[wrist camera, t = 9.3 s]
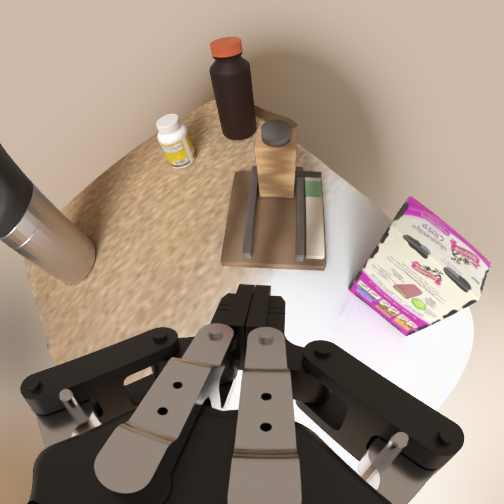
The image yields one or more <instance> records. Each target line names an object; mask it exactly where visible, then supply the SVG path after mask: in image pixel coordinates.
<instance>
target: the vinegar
mask: <svg viewBox="0 0 504 504" xmlns="http://www.w3.org/2000/svg"><path fill="white" fill-rule="evenodd" d="M210 47H211V52H212V55H213V58H214V59H215V62H214V63H213V65H212V66H211V67H210V76H211V81H212V85H213V90H214V95H215V99H216V104H217V109H218V113H219V118H220V123H221V127H222V132H223V134H224V136H226V137H227V138H229V139H232V140H242V139H246V138H248V137H250V136H252V135H253V134H254V133H255V131H256V120H255V110H254V100H253V92H252V81H251V72H250V64H249V62H247V61H246V60H245V59H243V58H242V57H241V54H242V44H241V39H240V38H237V37H226V38H221V39H217V40H215V41H213V42H211V43H210Z"/></svg>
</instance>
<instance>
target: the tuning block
mask: <svg viewBox="0 0 504 504" xmlns="http://www.w3.org/2000/svg"><path fill="white" fill-rule="evenodd" d="M255 153H256V163H257V172H258V182H259V192H260V197H281V198H293V197H294V181H295V177H310V178H321V172H306V171H295V164H296V130H295V129H291V128H290V126H289V124H287V123H286V122H284V121H280V120H271V121H268V122H266V123H264V124H263V125H262V127H261V128H257V136H256V144H255Z"/></svg>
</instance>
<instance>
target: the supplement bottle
mask: <svg viewBox="0 0 504 504" xmlns="http://www.w3.org/2000/svg"><path fill="white" fill-rule="evenodd" d="M156 126H157V128H158V131H159V133H158V141H159V143H160V145H161V148H162V150H163V152H164V154H165V156H166V158H167V160H168V162H169V164H170V166H171V167H173V168H176V169H181V168H185V167H187V166H189V165H190V164H191V163H192V162H193V161H194V160H195V157H196V153H195V150H194V147H193V144H192V141H191V139H190V136H189V133H188V130H187V127H186V126H185V125H184V124H183V123H180V119H179V117H178V115H177V114H168V115H165V116H163V117H161V118H160V119H159V120H158V121H157V123H156Z"/></svg>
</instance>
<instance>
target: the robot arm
mask: <svg viewBox="0 0 504 504" xmlns="http://www.w3.org/2000/svg"><path fill="white" fill-rule="evenodd" d="M0 240H1V241H2V242H4V243H5V244H6V245H8V246H9V247H10V248H12V249H13V250H15V251H16V252H18V253H19V254H20V255H22V256H23V257H25V258H26V259H27V260H29V261H30V262H32V263H33V264H35V265H36V266H38V267H39V268H41V269H43V270H44V271H46V272H47V273H49V274H50V275H52V276H53V277H55V278H57V279H58V280H60V281H62V282H63V283H65V284H67V285H75V284H78V283H80V282H81V281H82V280H84V279H85V278H86V276H87V275H88V274H89V272H90V271H91V269H92V267H93V264H94V261H95V247H94V244H93V242H92V241H91V240H90V239H89V238H88V237H87V236H85V235H84V234H83V233H82V232H81V231H80V230H79V229H78V228H77V227H76V226H75V225H74V224H73V223H72V222H71V221H70V220H68V219H67V218H66V217H65V216H64V215H63V214H62V213H61V212H60V211H59V210H58V209H57V208H56V207H55V206H54V205H53V204H52V203H51V202H50V201H49V200H48V199H47V198H46V197H45V196H44V195H43V194H42V193H41V192H40V190H38V188H37V187H36V186H35V185H34V184H33V183H32V182H31V181H30V180H29V179H28V178H27V176H26V175H25V174H24V173H23V172H22V171H21V170H20V168H19V167H18V166H17V165H16V163H15V162H14V161H13V160H12V159H11V157H10V156H9V155H8V154H7V152H6V151H5V149H4V148H3V147H2V145H1V144H0ZM284 327H285V301H284V300H283V298H282V297H281V296H271V286H265V285H256V286H255V285H245V284H240V285H239V287H238V290H237V293H236V294H231V293H228V294H227V295H225V296H224V297H223V298H222V299H221V301H220V303H219V305H218V307H217V310H216V312H215V314H214V316H213V319H212V321H211V323H210V324H208V325H205V326H203V327H202V328H201V329H200V330H199V331H198V333H197V334H196V336H195V337H188V338H178V335H177V333H176V331H174V330H173V329H170V328H166V327H160V328H155V329H152V330H149V331H147V332H145V333H142V334H140V335H137V336H134V337H132V338H129V339H127V340H124V341H122V342H119V343H117V344H114V345H111V346H109V347H106V348H104V349H101V350H98V351H96V352H93V353H90V354H88V355H85V356H82V357H80V358H77V359H74V360H71V361H69V362H66V363H63V364H60V365H58V366H55V367H52V368H49V369H46V370H43V371H41V372H38V373H35V374H32V375H30V376H28V377H27V378H26V379H25V380H24V381H23V382H22V384H21V388H20V390H21V394H22V395H23V397H24V398H25V400H26V401H27V403H28V404H29V406H30V407H31V409H32V411H33V413H34V414H35V415H36V417H37V420H38V424H39V428H40V431H41V435H42V438H43V442H44V444H45V448H46V449H44V450H43V451H42V452H41V453H40V454H39V455H38V457H37V459H36V461H35V463H34V467H33V483H32V491H31V495H30V500H29V502H28V504H408V503H409V502H410V501H411V499H412V498H413V497H414V496H415V495H416V494H417V493H418V492H419V491H420V489H421V488H422V487H423V486H424V485H425V483H426V482H427V481H428V480H429V478H431V477H432V476H433V475H434V474H435V473H436V472H437V471H439V470H440V469H441V468H442V467H443V466H444V465H445V464H446V463H447V462H448V461H449V460H450V459H451V458H452V457H453V456H454V455H455V454H456V453H457V452H458V451H459V450H460V449H461V447H462V446H463V443H464V434H463V431H462V429H461V428H460V426H458V424H456V423H455V422H453V421H451V420H450V419H448V418H446V417H445V416H443V415H441V414H440V413H439V412H437V411H435V410H434V409H432V408H431V407H429V406H427V405H426V404H424V403H423V402H421V401H420V400H418V399H416V398H415V397H413V396H412V395H410V394H409V393H407V392H406V391H404V390H402V389H401V388H399V387H398V386H396V385H395V384H393V383H392V382H390V381H389V380H387V379H386V378H384V377H383V376H381V375H380V374H378V373H377V372H375V371H374V370H372V369H371V368H369V367H368V366H366V365H365V364H363V363H362V362H360V361H359V360H357V359H356V358H354V357H353V356H351V355H350V354H349V353H347V352H346V351H344V350H343V349H341V348H340V347H338V346H337V345H335V344H334V343H331V342H328V341H323V340H318V341H313V342H310V343H308V344H307V345H306V346H305V347H300V346H296V345H294V344H292V343H290V342H289V341H288V340H287V339H286V337H285V335H284ZM150 366H151V368H152V372H153V374H151V375H149V376H146V377H144V378H142V379H140V380H138V381H135V382H133V383H131V384H128V385H126V386H124V384H123V383H124V380H125V379H126V377H128V376H129V375H132V374H134V373H136V372H139V371H141V370H143V369H145V368H148V367H150ZM238 370H243V373H242V382H241V392H240V401H239V410H228V411H226V409H227V406H228V404H229V401H230V398H231V395H232V392H233V390H234V387H235V384H236V376H237V372H238ZM293 399H295V400H296V404H297V406H298V407H299V408H300V409H301V410H302V411H303V412H304V413H305V414H306V415H307V416H308V417H310V418H311V419H312V420H313V421H314V422H315V423H316V424H317V425H318V426H319V427H320V428H321V429H323V430H324V431H325V432H326V433H327V434H328V435H329V436H330V437H331V438H333V439H334V440H335V441H336V442H337V443H338V444H339V445H341V446H342V447H343V448H344V449H345V450H346V451H348V452H349V453H350V454H351V455H352V456H353V457H355V458H356V459H357V460H358V461H360V462H359V465H358V472H359V475H358V474H357V473H356V472H355V471H354V470H353V469H352V468H351V467H350V466H349V465H347V464H346V463H345V462H344V461H343V460H342V459H341V458H340V457H339V456H338V455H337V454H336V453H335V452H334V451H333V450H332V449H331V448H330V447H329V446H328V445H327V444H326V443H325V442H324V441H323V440H321V439H320V438H319V437H318V436H317V435H316V434H315V433H314V432H313V431H311V430H310V429H309V428H307V427H305V426H304V425H302V424H300V423H298V422H295V421H294V409H293Z"/></svg>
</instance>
